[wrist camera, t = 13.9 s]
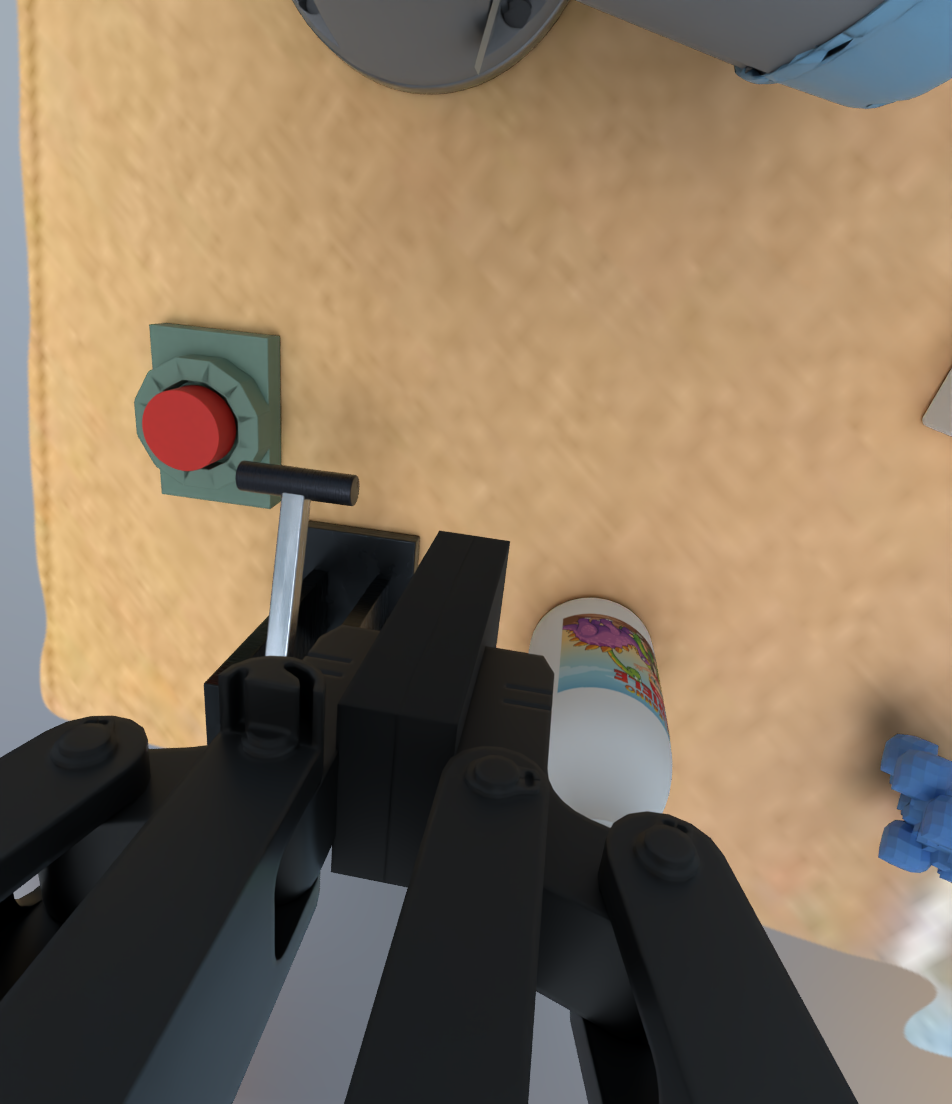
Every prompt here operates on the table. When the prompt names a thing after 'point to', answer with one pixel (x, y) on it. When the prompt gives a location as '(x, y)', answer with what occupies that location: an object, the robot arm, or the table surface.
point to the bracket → (334, 593)
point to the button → (188, 427)
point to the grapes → (919, 806)
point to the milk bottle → (604, 711)
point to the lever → (292, 534)
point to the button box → (241, 381)
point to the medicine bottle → (941, 409)
